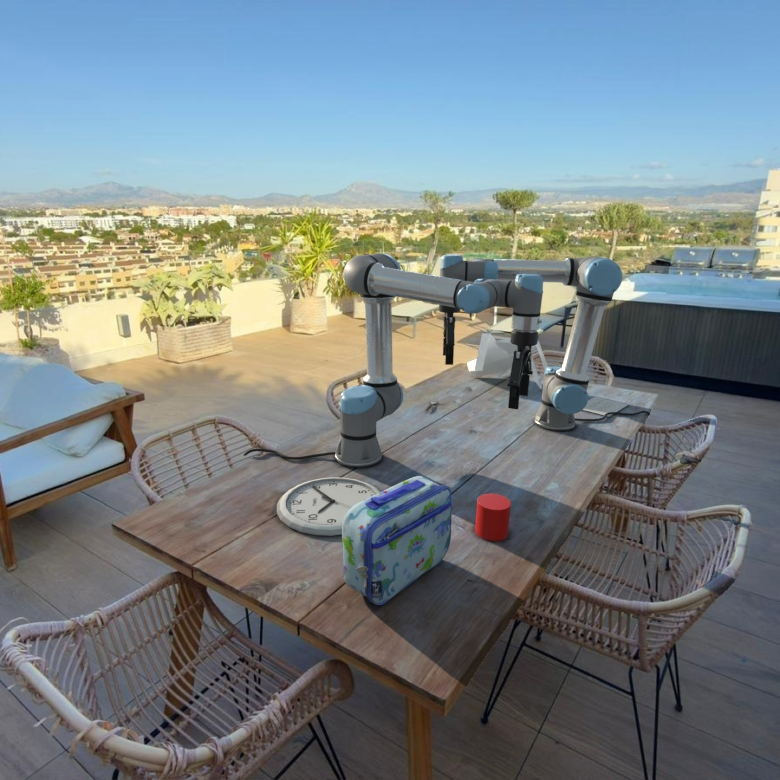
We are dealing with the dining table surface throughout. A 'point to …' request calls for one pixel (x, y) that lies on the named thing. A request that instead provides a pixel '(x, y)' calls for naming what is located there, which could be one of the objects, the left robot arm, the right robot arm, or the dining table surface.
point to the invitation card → (603, 406)
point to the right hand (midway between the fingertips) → (447, 359)
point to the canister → (492, 517)
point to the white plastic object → (499, 357)
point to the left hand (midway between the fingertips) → (518, 401)
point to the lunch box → (395, 537)
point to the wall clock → (322, 504)
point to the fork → (432, 403)
